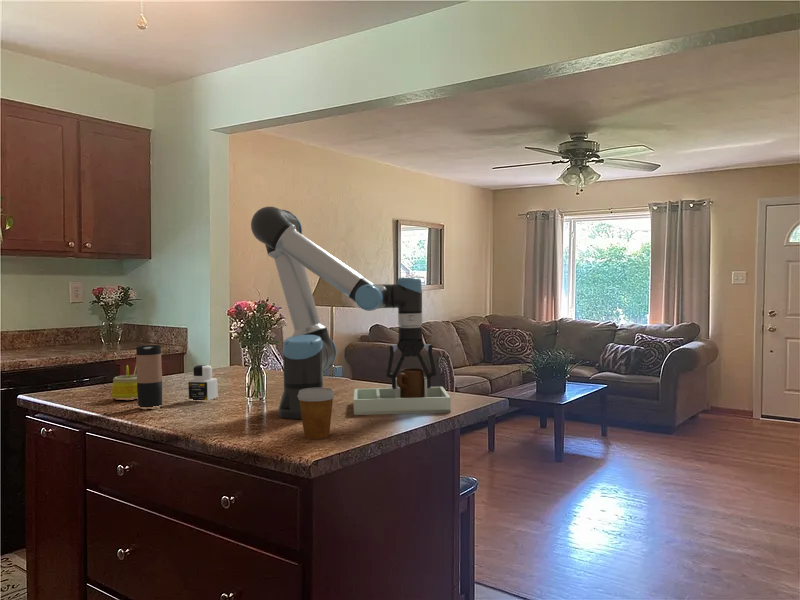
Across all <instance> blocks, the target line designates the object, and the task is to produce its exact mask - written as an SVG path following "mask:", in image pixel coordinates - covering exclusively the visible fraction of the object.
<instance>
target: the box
mask: <svg viewBox="0 0 800 600" xmlns="http://www.w3.org/2000/svg"><path fill="white" fill-rule="evenodd" d="M451 402H452V401H451V396H450V395H449V393H448V392H447V391H446V389H445V388H444V386H431V387H430V388H427V397H422V398H401V397H400V388H399V387H398V398H396V389H393V388H392V387H378V388H376V387H375V388H373V387H372V388H371V387H370V388H354V391H353V415H354V416H361V415H363V416H364V415H366V416H370V415H395V414H396V415H401V414H403V415H404V414H434V413H436V414H439V413H441V414H442V413H451V411H452V410H451V409H452V408H451V407H452V406H451Z"/></svg>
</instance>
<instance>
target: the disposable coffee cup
mask: <svg viewBox="0 0 800 600" xmlns="http://www.w3.org/2000/svg"><path fill="white" fill-rule="evenodd" d="M335 396H336V395H335V393H334V390H333V388H330V387H323V388H306V389H301V390H299V394H298V395H297V397H298V399H299V402H300V408H301V415H302V419H301V421H302V426H303V435H304V439H308V440H323V439H327V438H329V437H330V431H331V422H332V421H331V420H332V411H333V401H334V397H335Z"/></svg>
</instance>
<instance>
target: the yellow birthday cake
mask: <svg viewBox="0 0 800 600" xmlns="http://www.w3.org/2000/svg"><path fill="white" fill-rule="evenodd" d="M136 372H137V364H136V363H135V367H134V371H133V374H130V369H129V365H128V364H127V365H125V375H118V376H114V377H113V379H112V385H111V387H112V388H111V397H112V398H113V397H115V398H131V397H138V393H137V374H136Z"/></svg>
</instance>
